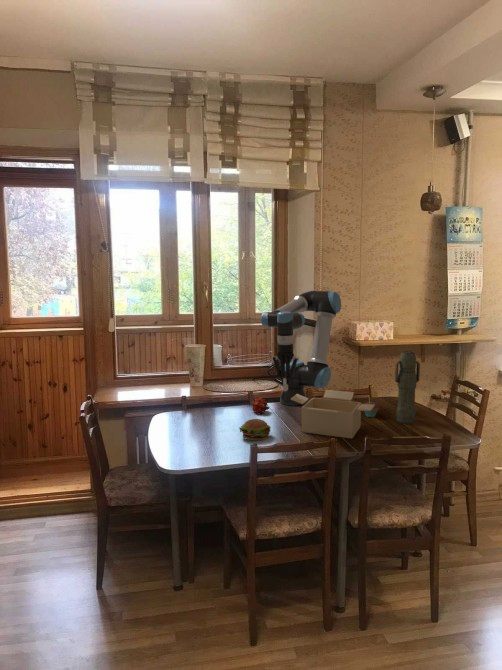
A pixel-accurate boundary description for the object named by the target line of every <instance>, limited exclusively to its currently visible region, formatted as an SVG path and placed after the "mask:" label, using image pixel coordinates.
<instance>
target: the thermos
mask: <svg viewBox="0 0 502 670" xmlns="http://www.w3.org/2000/svg"><path fill="white" fill-rule="evenodd" d="M394 367H395V368H394V369H395V370H394V382H395V383H397V387H398V397H397V406H396V421H397V423H400V424H406V425H408V424H409V425H410V424H414V423H415V422H416V406H415V405H416V404H415V402H416V401H415V400H416V388H417V383H419V382H420V376H421V375H420V374H421V373H420V370H421V363H419V361H417V357H416V354H415V352H414V351H409V350H404V351H401V353H400V356H399V360H398V361H396V362H395V366H394Z"/></svg>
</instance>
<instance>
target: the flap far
mask: <svg viewBox="0 0 502 670" xmlns="http://www.w3.org/2000/svg"><path fill="white" fill-rule="evenodd" d="M354 394H355V392H353V391H345V390H334V389H326V390H325V391H324V394H323V397H322V399H332V400H341V401H351V402H352V400H353V398H354Z"/></svg>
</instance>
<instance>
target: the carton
mask: <svg viewBox="0 0 502 670" xmlns="http://www.w3.org/2000/svg"><path fill="white" fill-rule="evenodd" d="M361 404H362V402H360V401H352V400H351V401H347V400H338V399H328V398H323V397H322V398H319V397H312V398H311V399H310V400H307V403H306V404H303V405H302V406H301V433H307V434H314V435H315V434H316V435H323V436H329V437H336V438H337V437H338V438H344V439H353V438H354V437H355V436H356V434H357V432H359V429H361V424H362V422H361V421H362V411H357V409H358V407H359V406H360V405H361ZM307 408H319V409H327V410H336V411H341V413H334V412H325V411H316V410H307Z"/></svg>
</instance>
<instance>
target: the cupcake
mask: <svg viewBox="0 0 502 670" xmlns="http://www.w3.org/2000/svg"><path fill="white" fill-rule="evenodd" d="M363 404H375V406H374V407H373V409H372V410H371V411H364V413H365V416H366V418H367V417H368V418H375V417H376V415H377V412H378V411H379V410H380V406H379V404H377V403H376V402H374V401H371V394H368V401H367V402H366V401H365V402H364V403H363Z"/></svg>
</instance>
